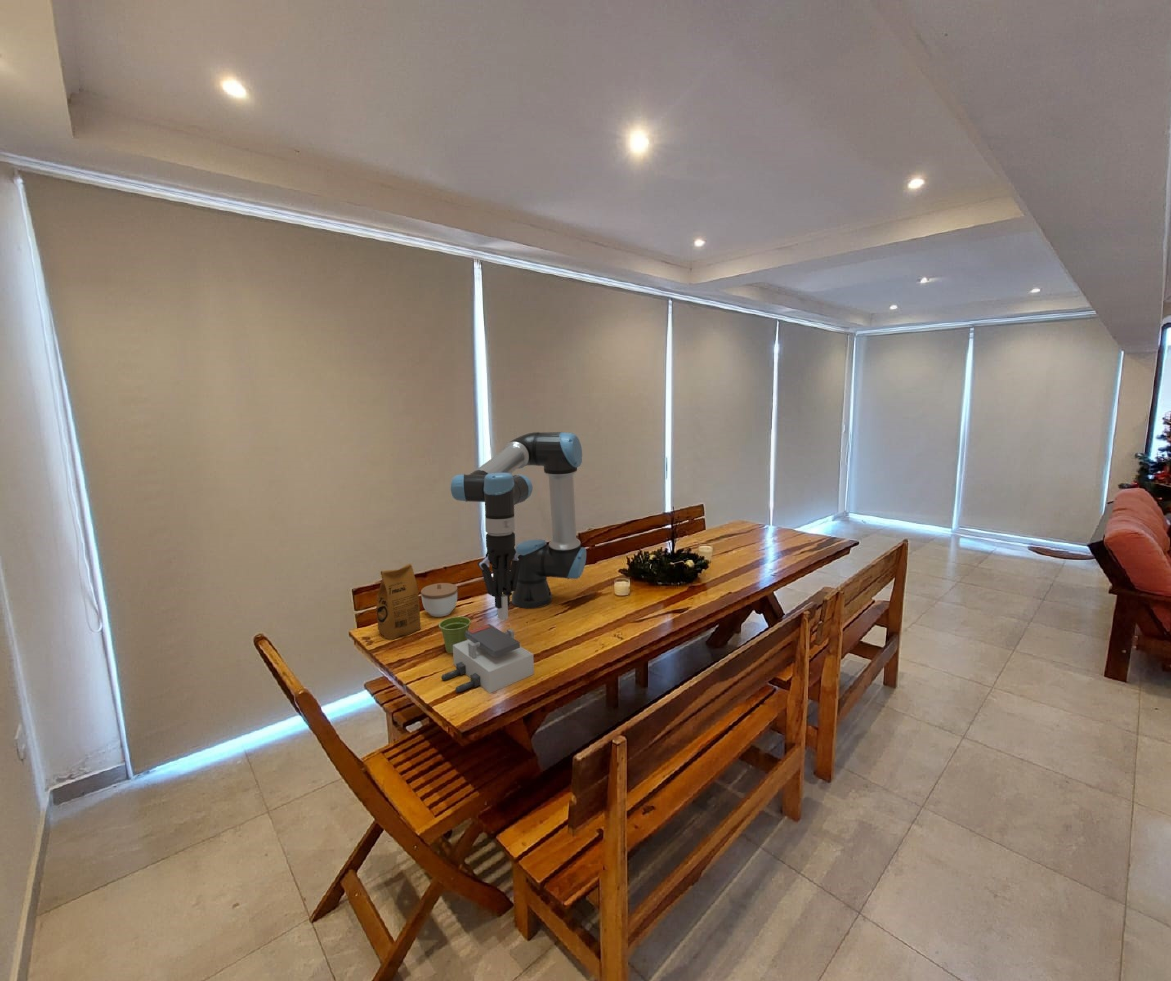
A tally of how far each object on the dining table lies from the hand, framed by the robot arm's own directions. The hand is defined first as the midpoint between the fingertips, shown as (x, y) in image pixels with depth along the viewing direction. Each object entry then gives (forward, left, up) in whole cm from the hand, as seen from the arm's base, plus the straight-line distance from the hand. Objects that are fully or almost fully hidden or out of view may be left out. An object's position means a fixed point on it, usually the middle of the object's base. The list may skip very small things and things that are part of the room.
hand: (502, 618), depth 136 cm
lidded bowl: (-7, -54, -18) cm, 57 cm away
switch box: (+3, -7, -18) cm, 19 cm away
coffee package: (+10, -49, -18) cm, 53 cm away
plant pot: (+2, -25, -18) cm, 31 cm away
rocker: (0, -7, -9) cm, 11 cm away
